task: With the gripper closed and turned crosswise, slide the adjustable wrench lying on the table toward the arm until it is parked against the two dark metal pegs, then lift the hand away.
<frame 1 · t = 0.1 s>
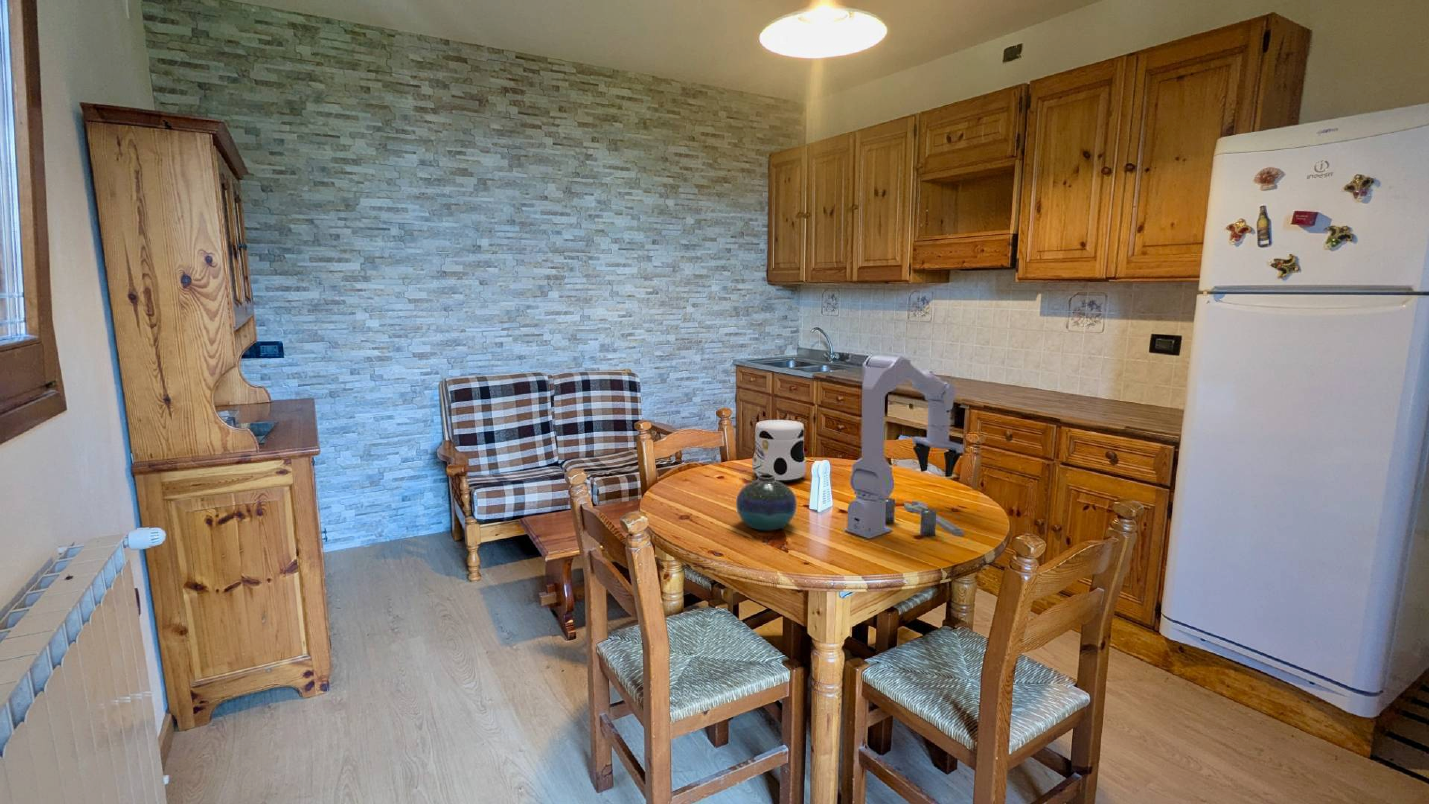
hand: (936, 473, 184), 10 cm above the table, tool pointing down, fingers open, 7 cm apart
milk container: (778, 479, 216), on the table
vase: (766, 527, 172), on the table
adjustable wrench: (930, 521, 177), on the table
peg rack: (906, 527, 170), on the table
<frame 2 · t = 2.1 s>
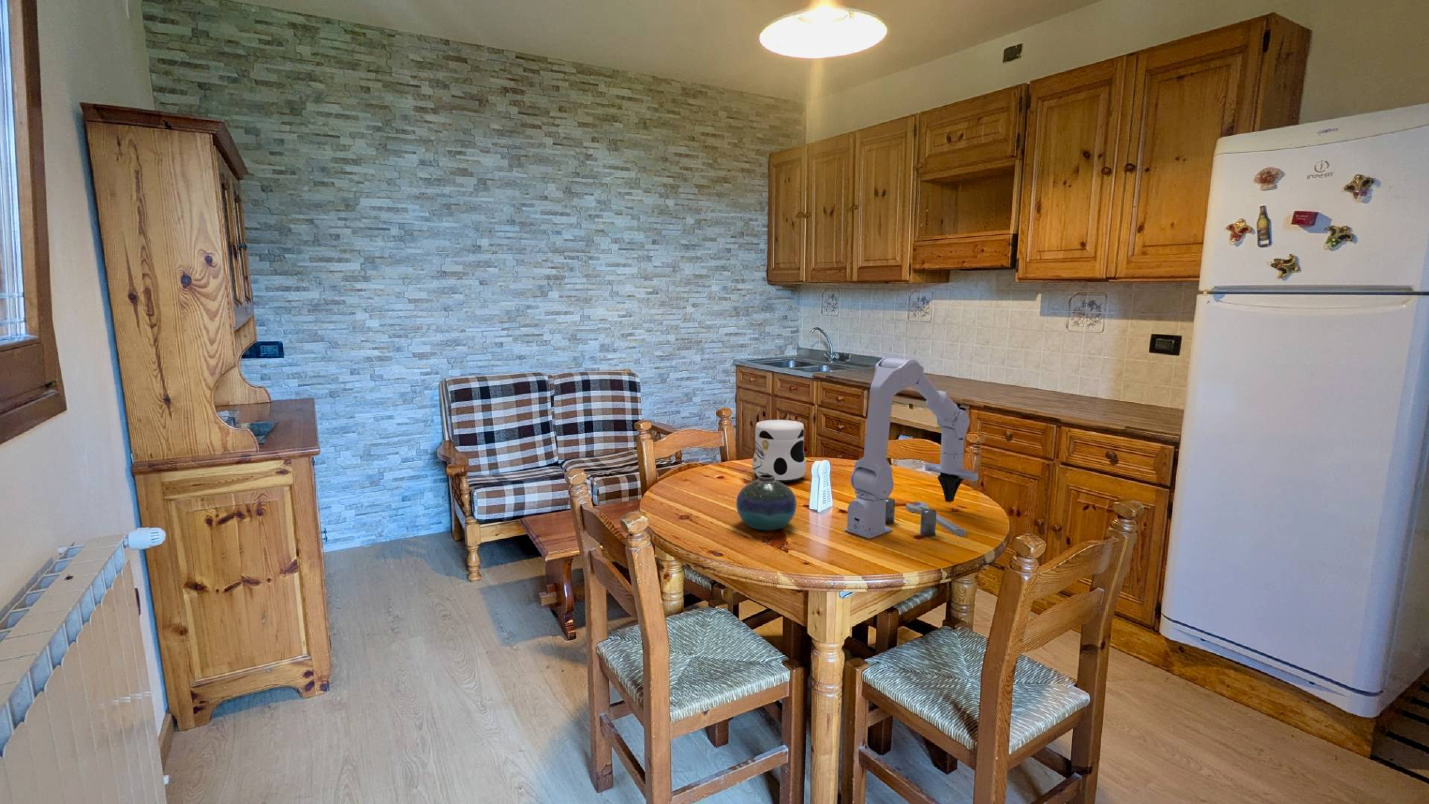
hand: (949, 501, 182), 3 cm above the table, tool pointing down, fingers closed
nothing on the table moved.
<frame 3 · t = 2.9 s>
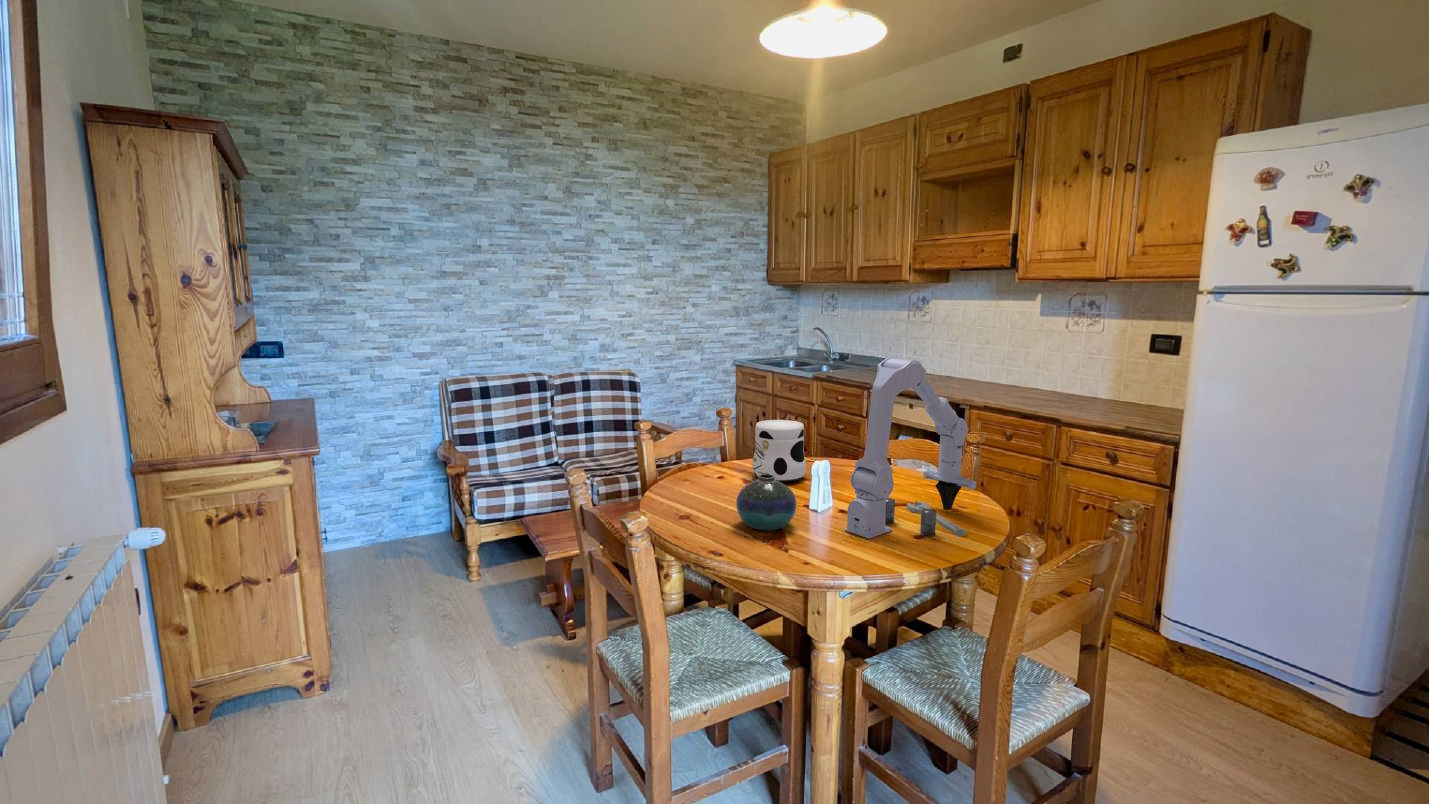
hand: (947, 509, 182), 1 cm above the table, tool pointing down, fingers closed
nothing on the table moved.
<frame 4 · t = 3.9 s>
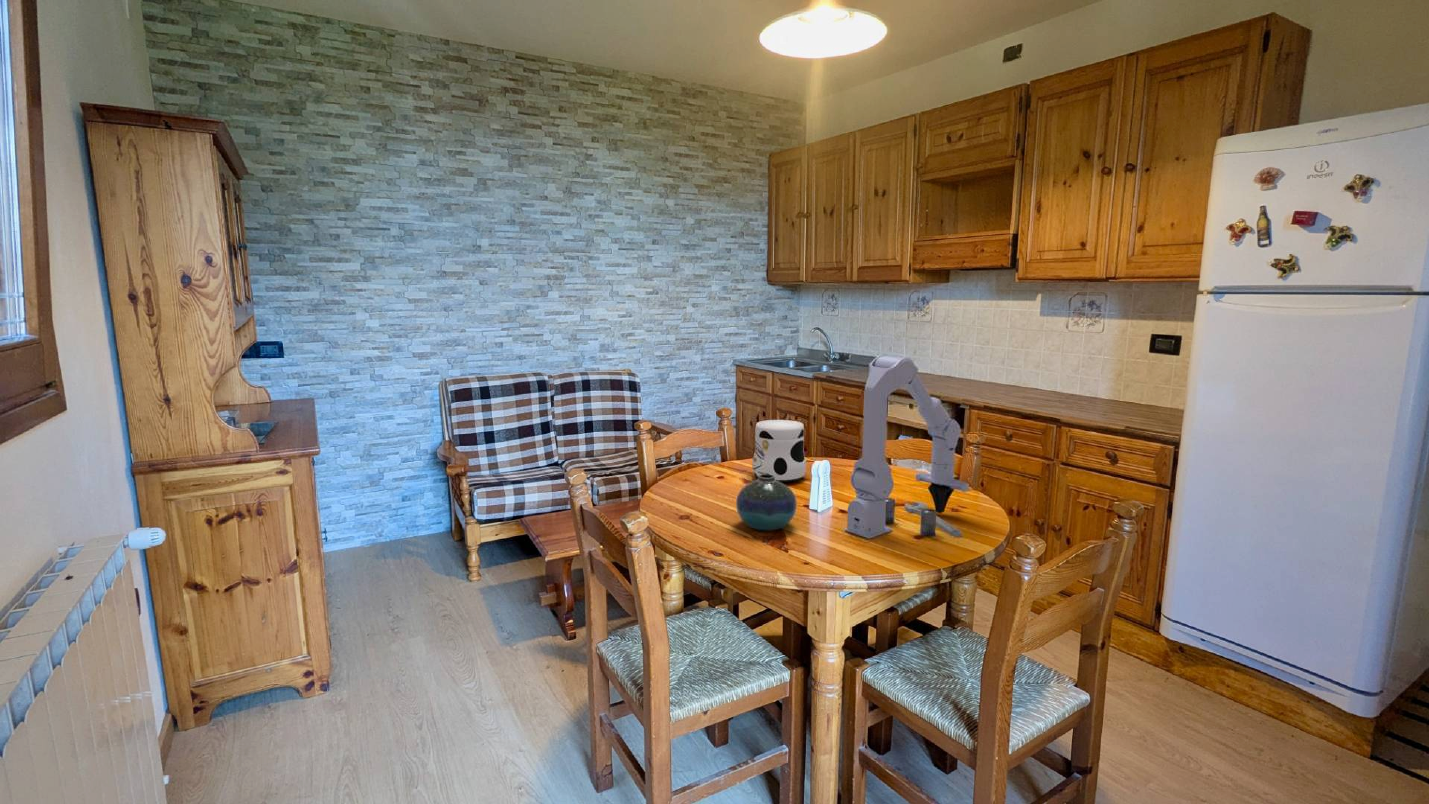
hand: (940, 511, 180), 1 cm above the table, tool pointing down, fingers closed
adjustable wrench: (929, 522, 176), on the table
everything else where it was.
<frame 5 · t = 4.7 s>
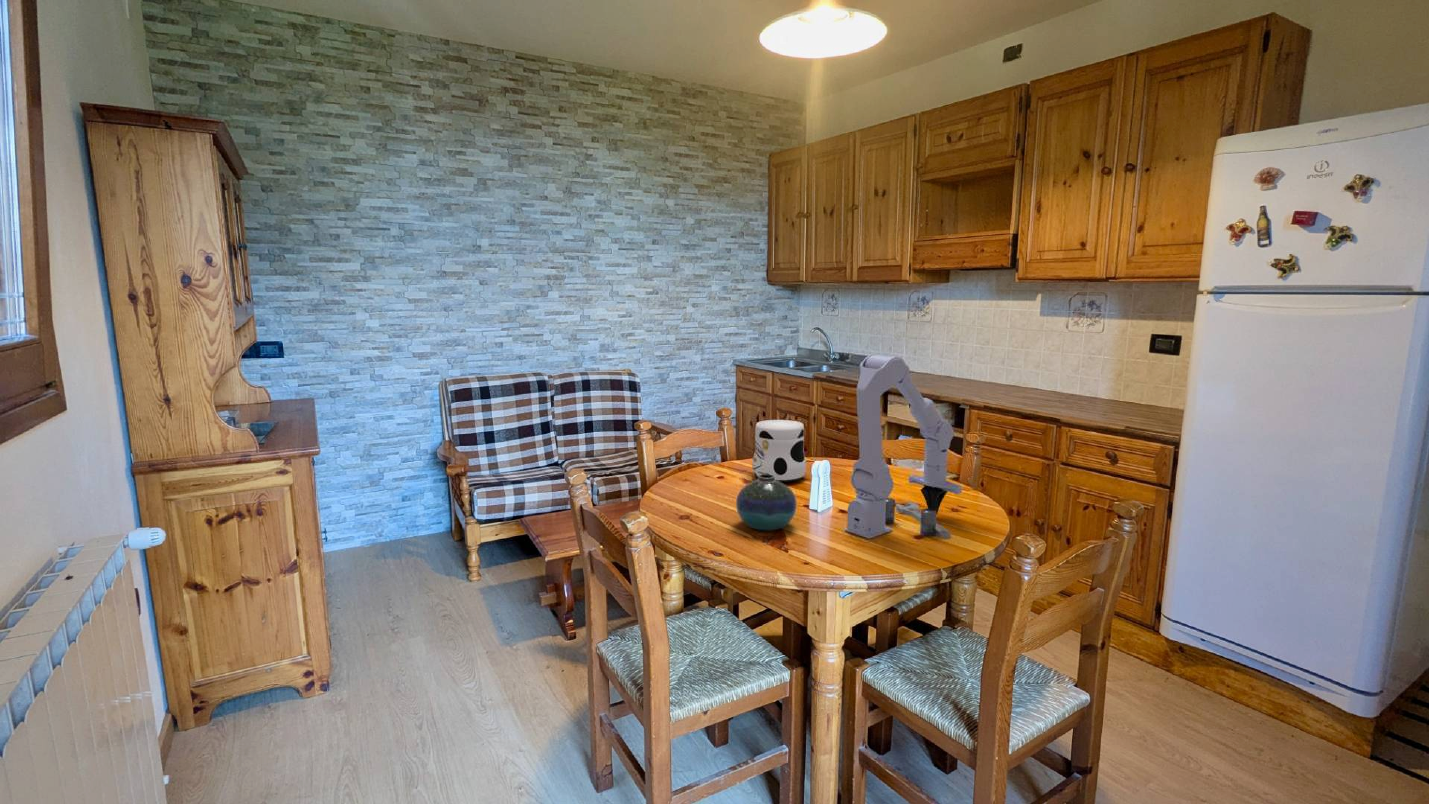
hand: (933, 514, 177), 1 cm above the table, tool pointing down, fingers closed
adjustable wrench: (920, 523, 175), on the table, touching gripper, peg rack
everything else where it was.
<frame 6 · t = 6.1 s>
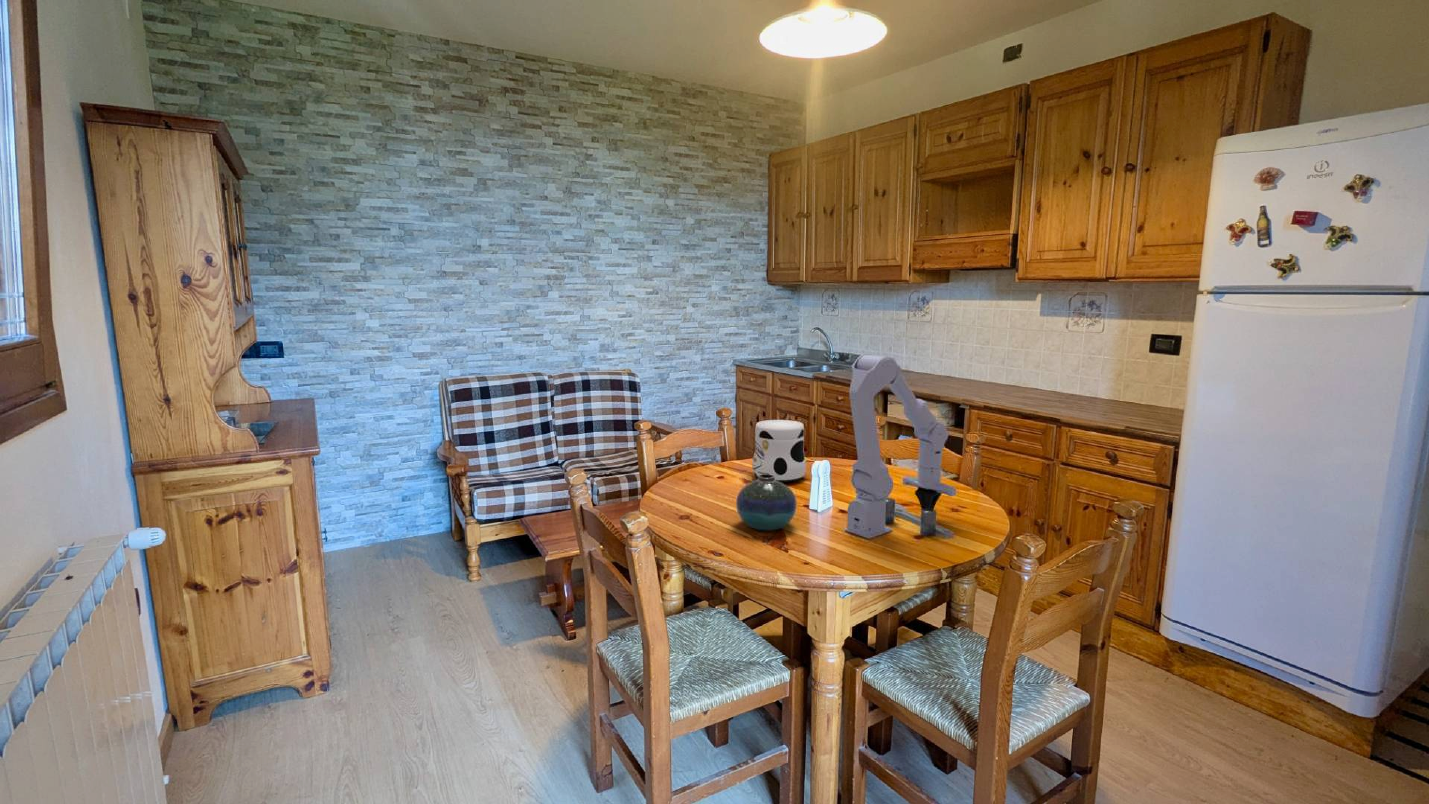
hand: (927, 516, 176), 1 cm above the table, tool pointing down, fingers closed
adjustable wrench: (913, 524, 174), on the table, touching gripper, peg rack
everything else where it was.
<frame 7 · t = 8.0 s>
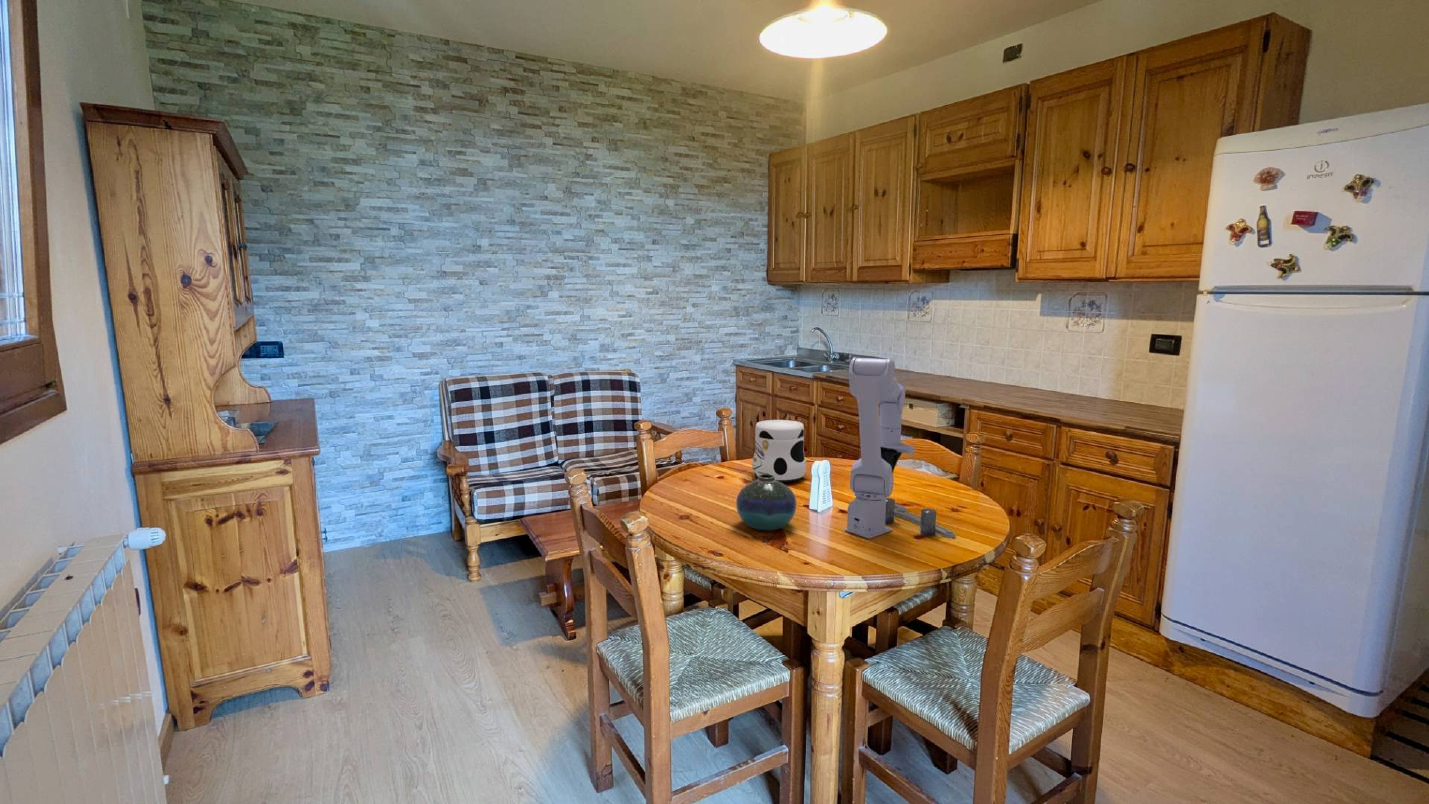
hand: (888, 475, 184), 9 cm above the table, tool pointing down, fingers closed
adjustable wrench: (915, 524, 174), on the table
everything else where it was.
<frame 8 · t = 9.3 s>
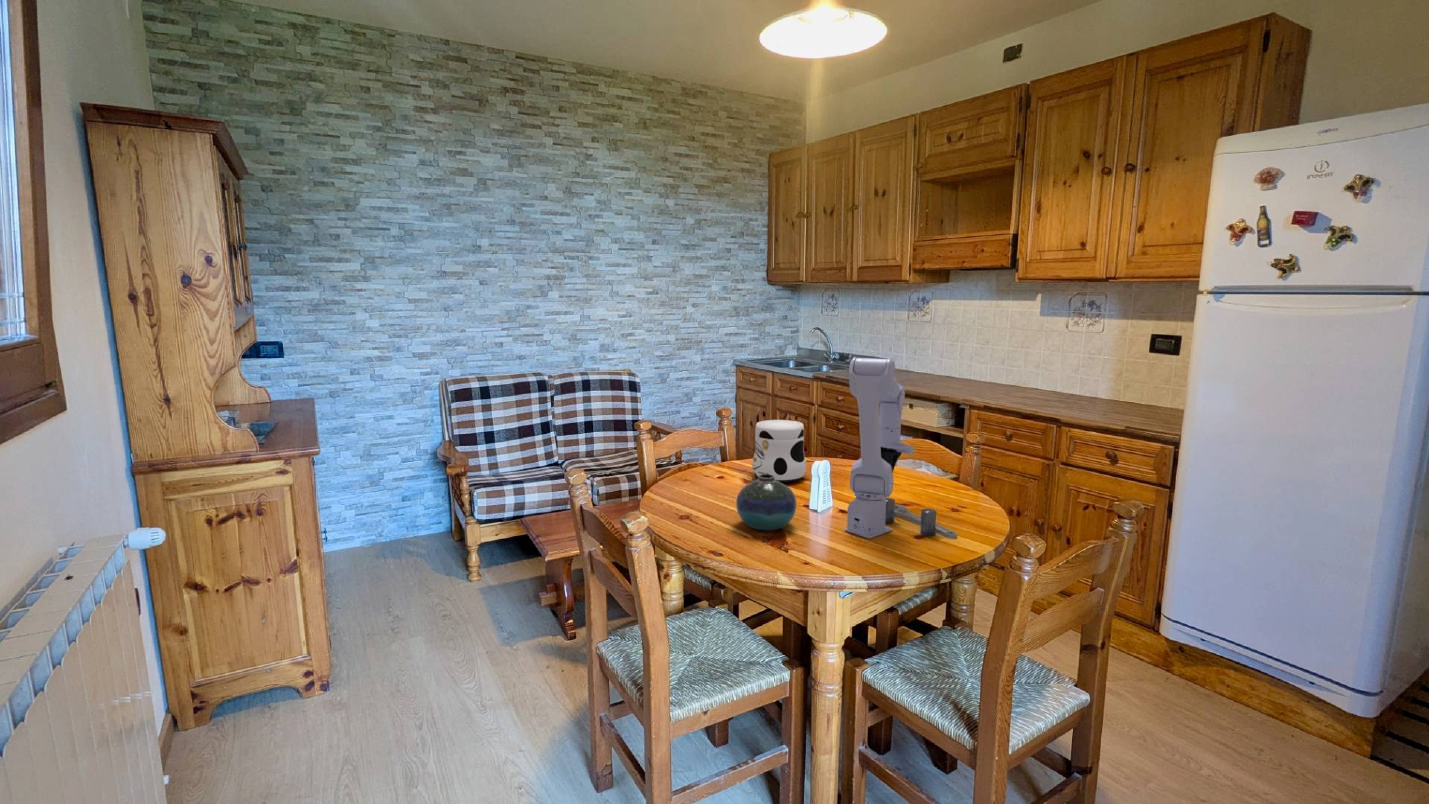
hand: (888, 475, 184), 9 cm above the table, tool pointing down, fingers closed
nothing on the table moved.
at the end: adjustable wrench 0.8 cm from the target spot, on the table; adjustable wrench moved 5.2 cm from its start; the gripper is holding nothing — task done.
